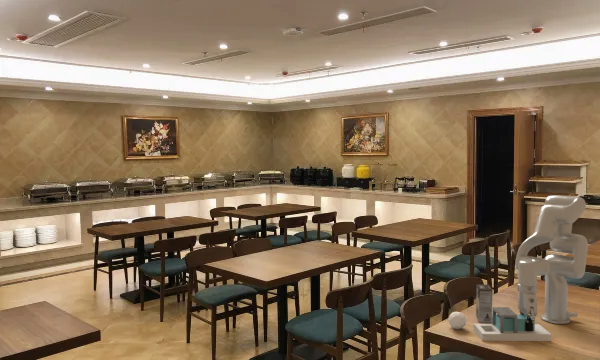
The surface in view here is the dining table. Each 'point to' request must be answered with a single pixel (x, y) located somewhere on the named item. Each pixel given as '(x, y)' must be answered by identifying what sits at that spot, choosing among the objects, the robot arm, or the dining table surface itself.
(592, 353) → the dining table surface
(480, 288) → the coffee box
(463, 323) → the geometric ball
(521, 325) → the block
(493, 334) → the white base plate
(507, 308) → the tunnel
